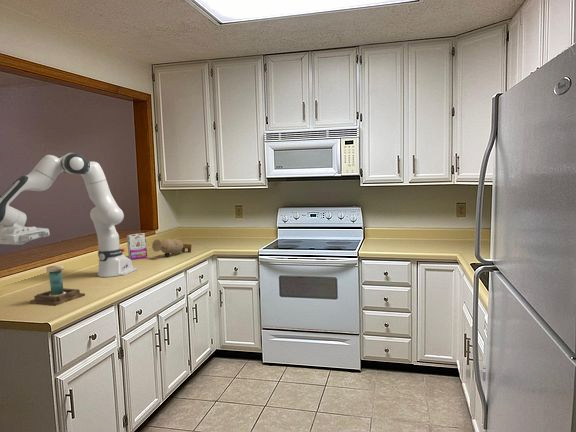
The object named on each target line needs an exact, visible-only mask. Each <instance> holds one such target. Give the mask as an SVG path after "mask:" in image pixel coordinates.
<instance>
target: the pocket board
mask: <svg viewBox="0 0 576 432" xmlns="http://www.w3.org/2000/svg"><path fill="white" fill-rule="evenodd" d="M63 292H66V293H65V294H62V295H59V296H49V294H51V289H50V290H47V291H44V292H41V293H37V294H35V295H34V297H33V298H34V299H31V300H29V304H37V305H48V306H58V305H62V304H64V302H65V303H67V301H68V302H70V301H73V300H76V299H80V298H82V297H85V293H84V292H81V291H80V289H78V288H65V287H63Z"/></svg>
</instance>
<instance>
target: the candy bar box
mask: <svg viewBox="0 0 576 432" xmlns="http://www.w3.org/2000/svg"><path fill="white" fill-rule="evenodd" d="M126 242H127V251H128V258H129V259H130V260H131V261H133V260H141V259H147V258H148V250H147V248H148V247H147V240H146V233H144V232H140V233H133V234H127V235H126Z"/></svg>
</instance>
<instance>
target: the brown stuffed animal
mask: <svg viewBox="0 0 576 432" xmlns="http://www.w3.org/2000/svg"><path fill="white" fill-rule="evenodd" d="M151 244H152V245H151V247H152V248H151V249H152V250H153V251H154V252H156V253H157V252H159V251H160V252H162V253H164V257H165V258H170V256H171V255H170V254H172V255H177V254H180V253H181V252H182V253H186V249H187V253H192V244H191V243H190V244H188V243H183V242H182V240H180V239H176V238H164V239H162V240H159V239H155V240H153V241H152V243H151Z"/></svg>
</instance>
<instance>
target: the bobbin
mask: <svg viewBox="0 0 576 432" xmlns="http://www.w3.org/2000/svg"><path fill="white" fill-rule="evenodd" d="M45 269H46V272H47V273H49V276H48V277H49V287H50V290H51V294H49V296H59V295H62V294H65V293H66V292H63V288H64V284H63V283H64V282H63V272H62V271H63V270H65V269H64V265H63V264H59V265H58V264H57V265H50V266H47V267H45Z"/></svg>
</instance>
